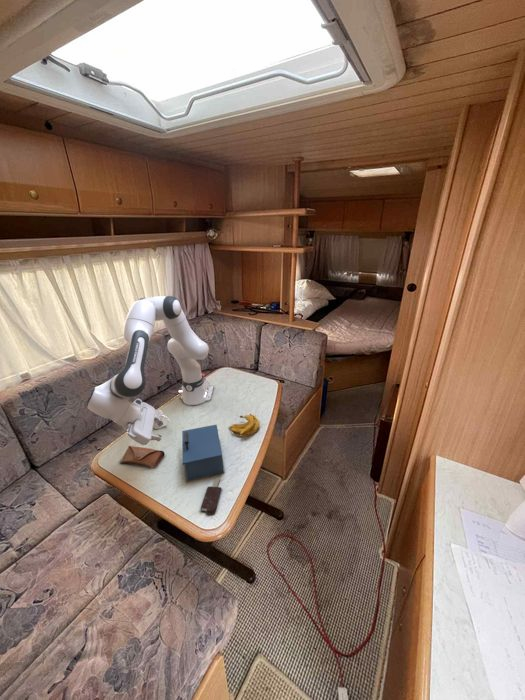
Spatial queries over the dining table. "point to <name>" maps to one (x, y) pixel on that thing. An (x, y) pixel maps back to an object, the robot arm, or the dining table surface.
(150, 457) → the sunglasses case
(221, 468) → the cool box
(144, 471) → the dining table surface
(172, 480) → the dining table surface
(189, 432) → the cool box lid
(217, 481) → the ice cream bar
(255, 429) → the banana
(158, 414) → the cup
